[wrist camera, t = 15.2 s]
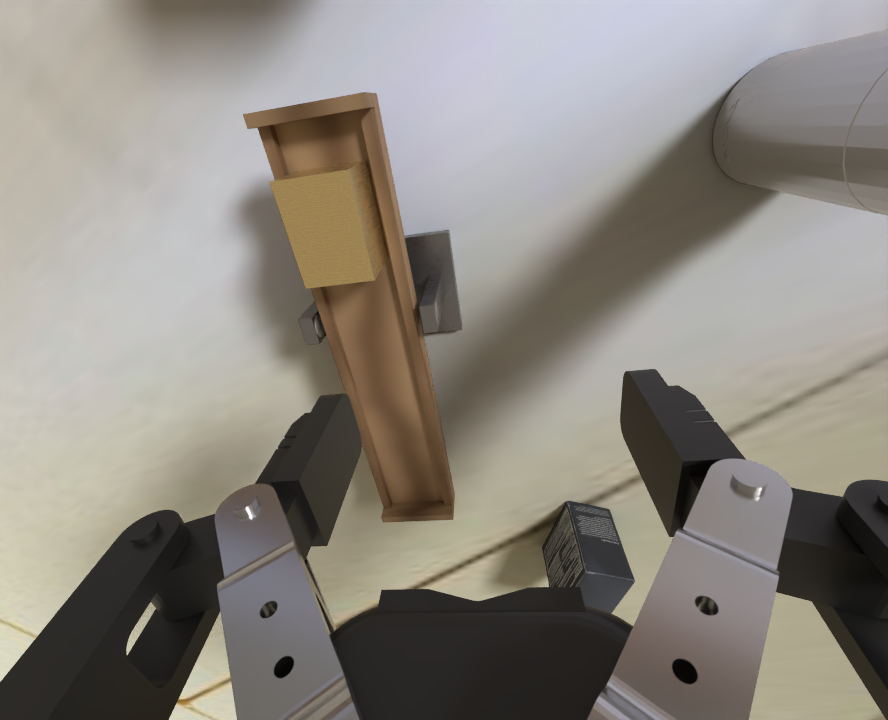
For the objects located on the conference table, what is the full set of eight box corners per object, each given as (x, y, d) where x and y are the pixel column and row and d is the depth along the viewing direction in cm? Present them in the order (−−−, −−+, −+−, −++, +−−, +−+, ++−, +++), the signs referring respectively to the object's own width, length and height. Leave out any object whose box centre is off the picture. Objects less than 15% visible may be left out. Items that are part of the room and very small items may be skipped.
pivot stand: (448, 229, 39) (441, 256, 31) (461, 325, 44) (458, 369, 36) (309, 248, 41) (268, 277, 33) (336, 338, 46) (306, 382, 38)
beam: (376, 93, 28) (364, 92, 25) (454, 494, 49) (453, 519, 46) (266, 113, 29) (242, 114, 26) (388, 497, 50) (382, 522, 47)
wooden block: (347, 169, 25) (374, 280, 28) (366, 159, 29) (387, 257, 33) (269, 181, 25) (305, 288, 29) (299, 170, 30) (327, 264, 33)
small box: (583, 556, 61) (601, 632, 52) (540, 547, 61) (551, 622, 52) (613, 508, 56) (639, 583, 47) (566, 499, 56) (583, 572, 46)
